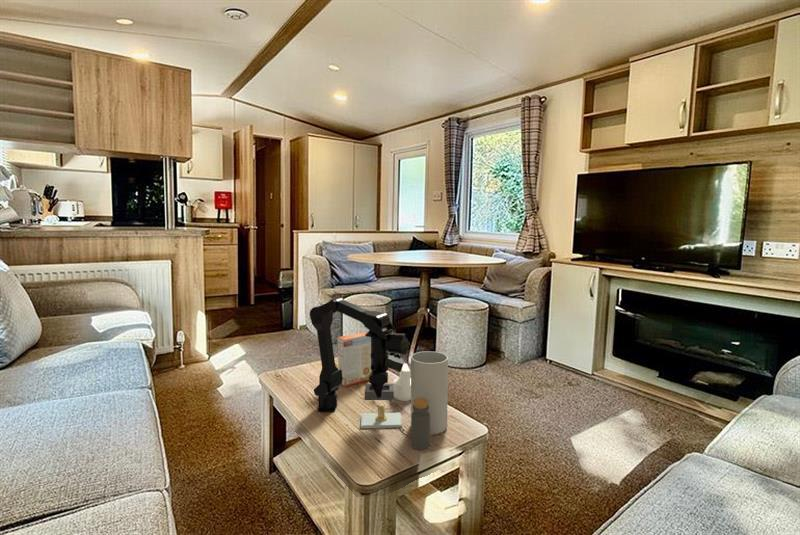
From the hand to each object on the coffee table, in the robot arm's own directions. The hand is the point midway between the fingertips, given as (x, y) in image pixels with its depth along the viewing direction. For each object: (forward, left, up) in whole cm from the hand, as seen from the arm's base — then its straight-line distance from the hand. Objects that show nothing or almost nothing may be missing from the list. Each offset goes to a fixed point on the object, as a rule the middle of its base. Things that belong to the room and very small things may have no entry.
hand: (379, 392), depth 150 cm
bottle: (+13, -16, -11) cm, 23 cm away
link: (0, 0, -1) cm, 1 cm away
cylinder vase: (+17, -4, -11) cm, 21 cm away
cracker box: (-11, +38, -11) cm, 41 cm away
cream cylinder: (+10, +22, -11) cm, 27 cm away
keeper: (+1, +1, -11) cm, 11 cm away
